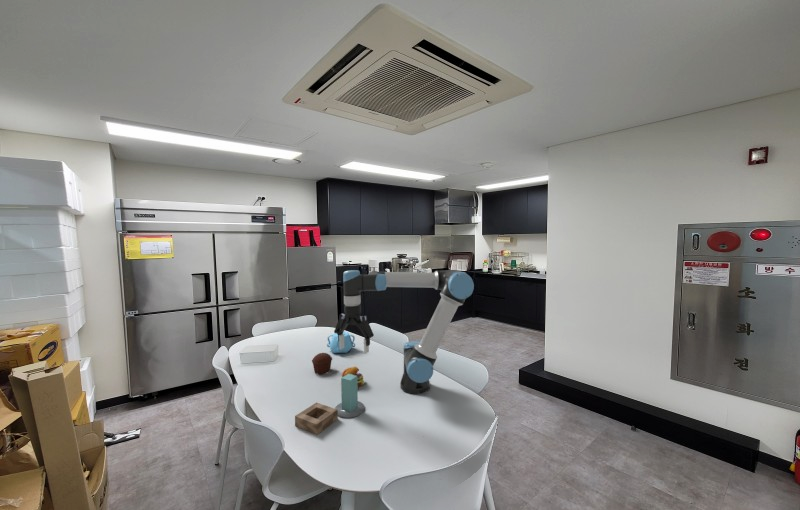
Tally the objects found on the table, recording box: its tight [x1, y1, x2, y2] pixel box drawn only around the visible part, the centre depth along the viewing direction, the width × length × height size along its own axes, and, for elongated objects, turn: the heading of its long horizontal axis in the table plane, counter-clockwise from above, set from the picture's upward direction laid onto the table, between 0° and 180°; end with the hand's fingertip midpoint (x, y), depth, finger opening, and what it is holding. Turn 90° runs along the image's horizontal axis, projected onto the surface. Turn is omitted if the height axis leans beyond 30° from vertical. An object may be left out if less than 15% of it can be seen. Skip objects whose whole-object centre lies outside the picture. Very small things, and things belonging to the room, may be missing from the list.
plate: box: [334, 400, 365, 419], centre depth 135 cm, size 13×13×1 cm
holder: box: [294, 401, 339, 435], centre depth 126 cm, size 12×12×4 cm
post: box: [340, 374, 359, 412], centre depth 135 cm, size 5×5×14 cm
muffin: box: [311, 352, 333, 375], centre depth 176 cm, size 12×11×10 cm
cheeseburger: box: [341, 366, 365, 387], centre depth 160 cm, size 10×11×10 cm
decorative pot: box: [326, 331, 356, 354], centre depth 209 cm, size 16×16×14 cm
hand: (354, 350), depth 140 cm, fingers open, 13 cm apart
